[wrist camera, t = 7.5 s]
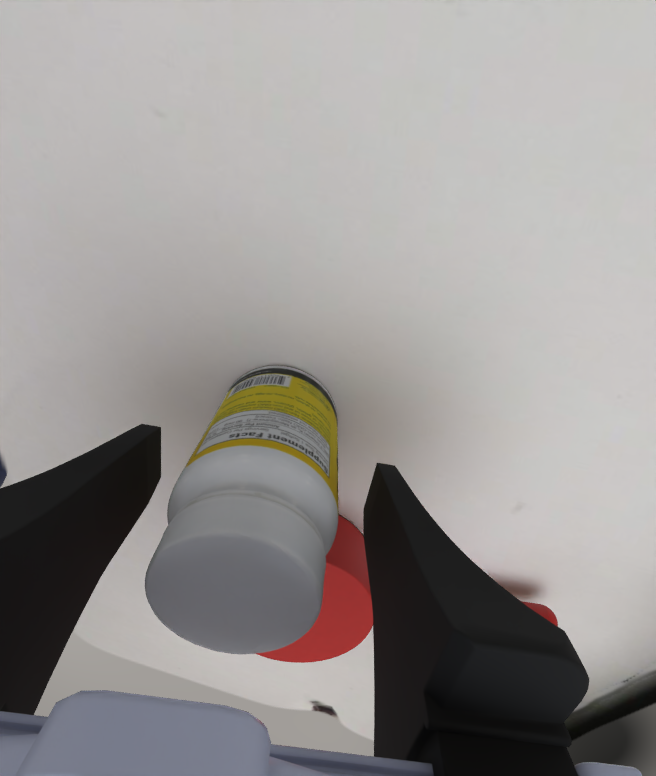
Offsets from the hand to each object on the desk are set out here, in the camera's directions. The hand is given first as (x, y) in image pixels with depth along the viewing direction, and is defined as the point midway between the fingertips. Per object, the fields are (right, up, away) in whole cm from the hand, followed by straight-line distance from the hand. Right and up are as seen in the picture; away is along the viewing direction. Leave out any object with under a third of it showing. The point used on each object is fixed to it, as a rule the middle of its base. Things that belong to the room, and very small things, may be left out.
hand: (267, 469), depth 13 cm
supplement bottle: (0, +2, +3) cm, 4 cm away
